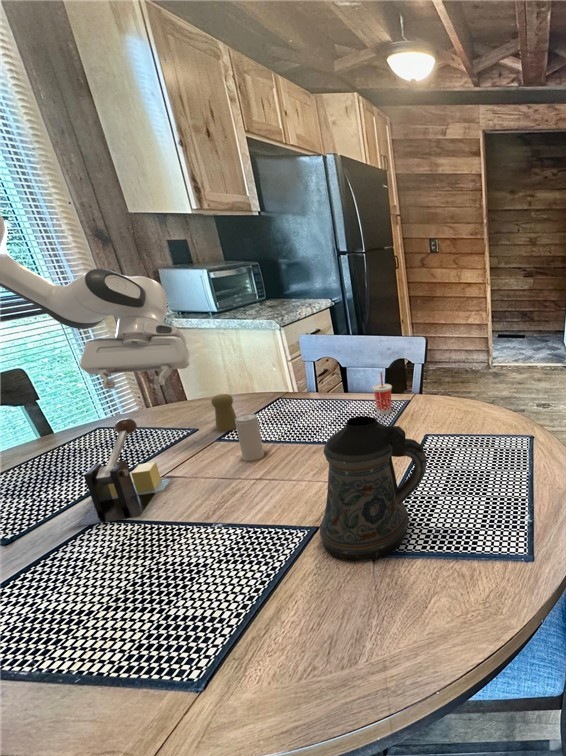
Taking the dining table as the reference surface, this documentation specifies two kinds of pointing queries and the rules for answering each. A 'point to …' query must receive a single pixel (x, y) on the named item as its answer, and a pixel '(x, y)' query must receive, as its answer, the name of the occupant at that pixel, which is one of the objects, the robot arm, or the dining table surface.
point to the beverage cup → (382, 397)
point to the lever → (116, 449)
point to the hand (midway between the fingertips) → (134, 386)
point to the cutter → (105, 504)
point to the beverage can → (249, 437)
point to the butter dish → (159, 488)
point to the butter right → (146, 477)
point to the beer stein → (367, 489)
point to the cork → (224, 412)
